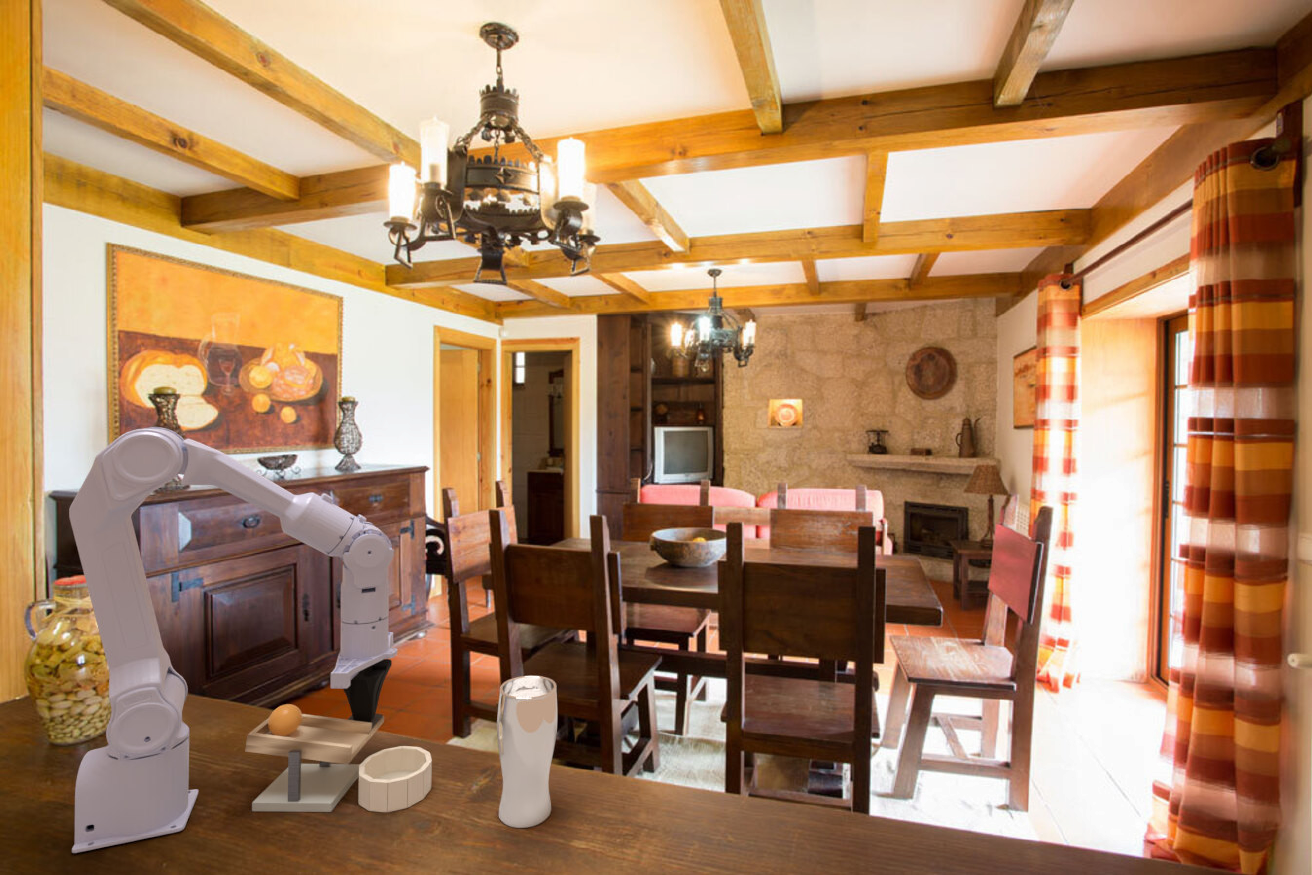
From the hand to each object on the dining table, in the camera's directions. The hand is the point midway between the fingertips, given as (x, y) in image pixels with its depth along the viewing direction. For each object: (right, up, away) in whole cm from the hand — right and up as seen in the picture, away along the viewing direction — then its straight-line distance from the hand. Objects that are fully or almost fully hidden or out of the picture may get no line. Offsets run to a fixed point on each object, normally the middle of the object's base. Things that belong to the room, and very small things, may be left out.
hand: (364, 719), depth 83 cm
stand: (-4, -6, -5) cm, 9 cm away
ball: (-7, +3, -6) cm, 9 cm away
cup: (+6, -7, -5) cm, 10 cm away
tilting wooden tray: (-4, 0, -3) cm, 5 cm away
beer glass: (+23, -7, -8) cm, 25 cm away
